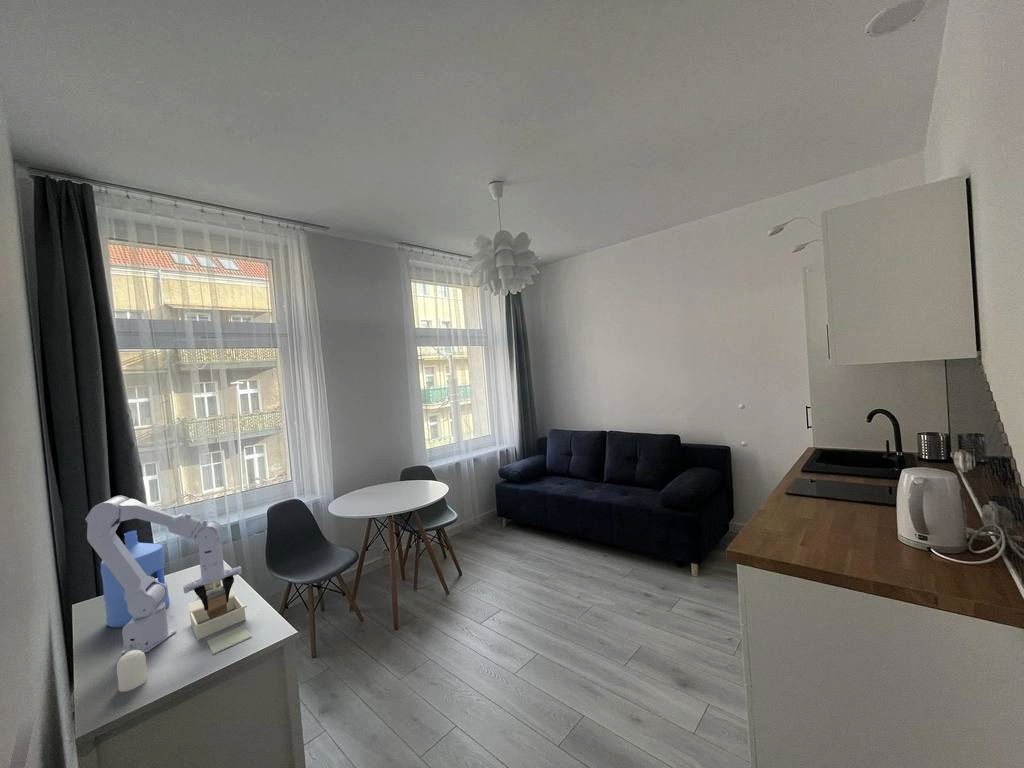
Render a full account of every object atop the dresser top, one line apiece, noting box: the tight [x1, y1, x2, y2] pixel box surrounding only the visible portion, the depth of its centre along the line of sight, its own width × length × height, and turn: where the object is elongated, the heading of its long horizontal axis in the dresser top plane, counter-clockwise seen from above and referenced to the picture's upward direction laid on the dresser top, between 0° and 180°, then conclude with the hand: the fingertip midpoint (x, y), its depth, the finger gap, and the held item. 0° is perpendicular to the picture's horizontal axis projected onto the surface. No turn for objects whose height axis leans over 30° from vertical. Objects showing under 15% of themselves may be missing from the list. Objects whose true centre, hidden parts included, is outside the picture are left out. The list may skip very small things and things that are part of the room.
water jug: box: [100, 530, 171, 628], centre depth 136 cm, size 16×16×28 cm
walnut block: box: [206, 585, 228, 620], centre depth 126 cm, size 4×4×7 cm
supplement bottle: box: [200, 576, 222, 592], centre depth 150 cm, size 5×5×10 cm
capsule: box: [116, 650, 149, 693], centre depth 101 cm, size 5×5×8 cm
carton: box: [187, 587, 248, 641], centre depth 126 cm, size 20×12×6 cm, turn 46°
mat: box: [206, 624, 252, 655], centre depth 116 cm, size 9×9×1 cm
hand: (216, 605), depth 126 cm, fingers closed on walnut block, 4 cm apart
